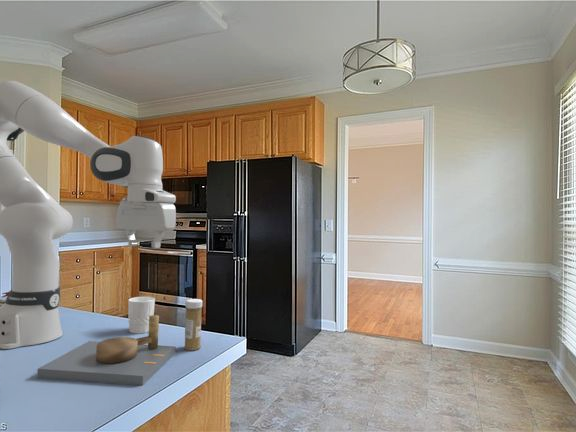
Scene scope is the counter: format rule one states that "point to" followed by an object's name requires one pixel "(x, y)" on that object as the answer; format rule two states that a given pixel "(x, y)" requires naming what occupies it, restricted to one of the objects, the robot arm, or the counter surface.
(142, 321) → the white cup
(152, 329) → the dial
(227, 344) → the counter surface
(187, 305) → the sprinkles bottle
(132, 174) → the robot arm
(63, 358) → the stand
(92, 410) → the counter surface
